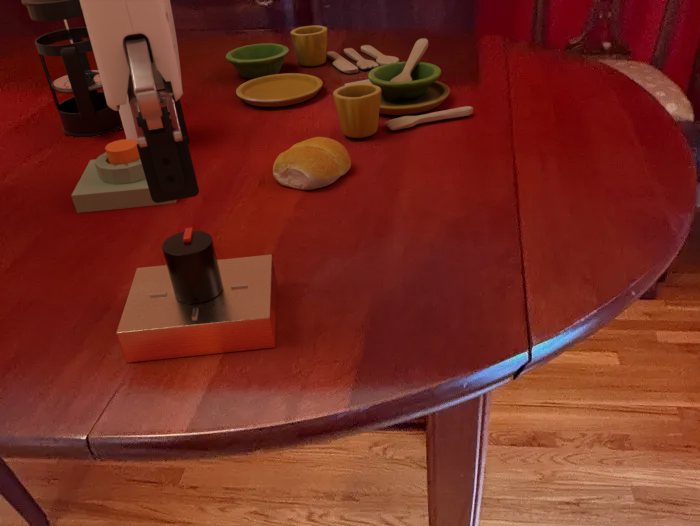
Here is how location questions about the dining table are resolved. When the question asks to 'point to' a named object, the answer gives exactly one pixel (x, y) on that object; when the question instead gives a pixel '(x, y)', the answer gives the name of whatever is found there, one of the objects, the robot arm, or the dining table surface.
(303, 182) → the bread roll
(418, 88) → the tableware set
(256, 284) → the panel
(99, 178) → the control box
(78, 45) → the french press
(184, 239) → the hob knob
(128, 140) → the button
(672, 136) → the dining table surface
